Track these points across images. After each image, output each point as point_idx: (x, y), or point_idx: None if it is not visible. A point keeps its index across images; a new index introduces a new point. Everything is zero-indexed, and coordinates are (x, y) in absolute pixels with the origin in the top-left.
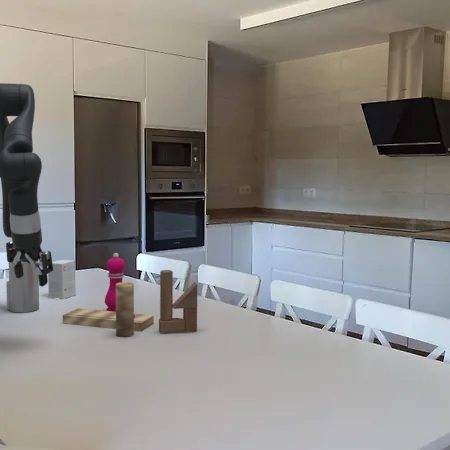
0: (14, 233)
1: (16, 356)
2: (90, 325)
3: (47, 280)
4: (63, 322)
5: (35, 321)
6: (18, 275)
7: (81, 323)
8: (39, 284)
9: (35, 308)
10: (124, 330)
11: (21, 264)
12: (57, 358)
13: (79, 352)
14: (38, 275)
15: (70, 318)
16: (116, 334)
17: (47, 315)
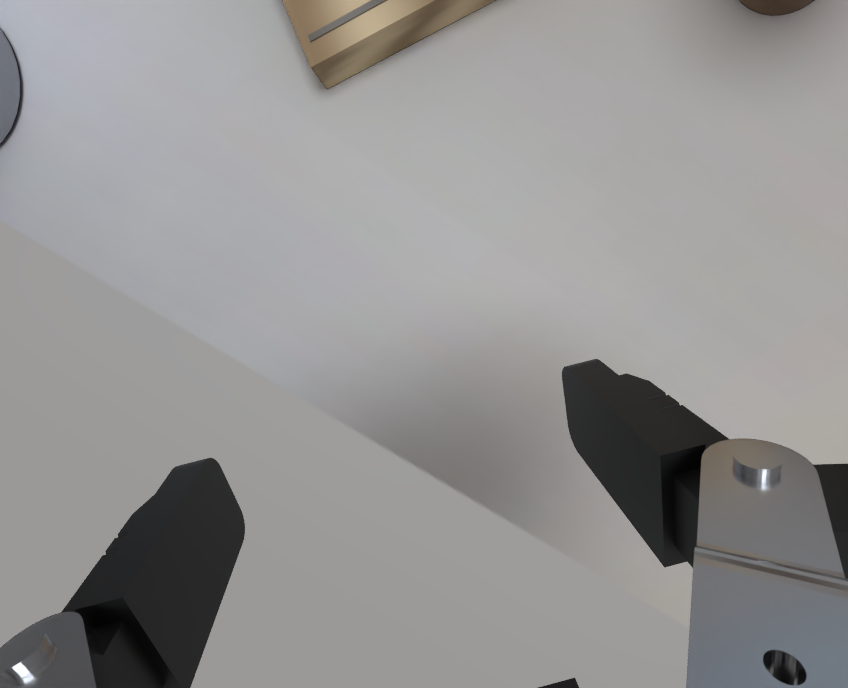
0: None
1: (624, 537)
2: (485, 3)
3: (659, 391)
4: (330, 85)
5: (199, 173)
6: (229, 543)
7: (431, 28)
8: (586, 457)
9: (2, 48)
10: None
11: (133, 613)
12: (799, 447)
13: (817, 331)
14: (658, 553)
15: (362, 50)
16: (762, 8)
17: (135, 58)
